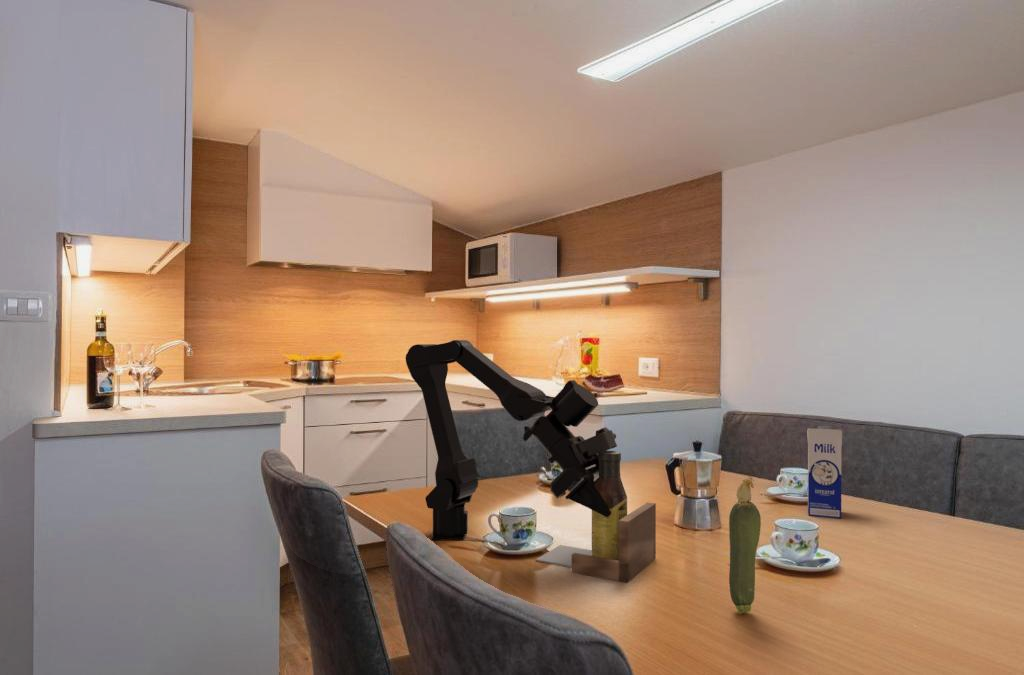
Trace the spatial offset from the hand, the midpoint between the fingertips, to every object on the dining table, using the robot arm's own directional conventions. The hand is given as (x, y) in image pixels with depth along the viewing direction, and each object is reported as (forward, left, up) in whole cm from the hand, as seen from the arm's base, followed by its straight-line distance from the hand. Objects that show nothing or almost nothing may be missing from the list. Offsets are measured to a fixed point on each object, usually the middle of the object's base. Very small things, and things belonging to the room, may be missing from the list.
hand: (616, 511), depth 122 cm
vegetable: (+16, -20, -10) cm, 28 cm away
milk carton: (+53, +37, -10) cm, 65 cm away
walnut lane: (0, 0, -10) cm, 10 cm away
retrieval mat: (-8, +5, -10) cm, 13 cm away
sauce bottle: (-1, +1, -10) cm, 10 cm away
